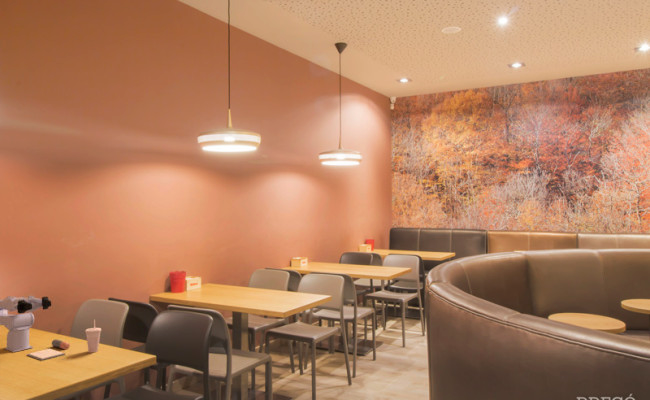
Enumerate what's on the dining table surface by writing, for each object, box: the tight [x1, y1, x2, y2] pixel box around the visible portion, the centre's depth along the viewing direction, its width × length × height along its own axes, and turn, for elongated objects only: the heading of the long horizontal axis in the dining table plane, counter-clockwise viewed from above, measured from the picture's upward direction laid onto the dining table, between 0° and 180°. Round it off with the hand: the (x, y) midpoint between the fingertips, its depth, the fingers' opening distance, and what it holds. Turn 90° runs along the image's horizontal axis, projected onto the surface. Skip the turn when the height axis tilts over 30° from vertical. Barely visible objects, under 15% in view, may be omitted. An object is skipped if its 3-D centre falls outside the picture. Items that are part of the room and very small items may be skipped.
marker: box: [51, 338, 71, 350], centre depth 206 cm, size 10×3×3 cm, turn 57°
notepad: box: [26, 348, 66, 361], centre depth 195 cm, size 13×10×1 cm
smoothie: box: [84, 319, 102, 354], centre depth 200 cm, size 6×6×14 cm
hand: (40, 305), depth 195 cm, fingers open, 7 cm apart
